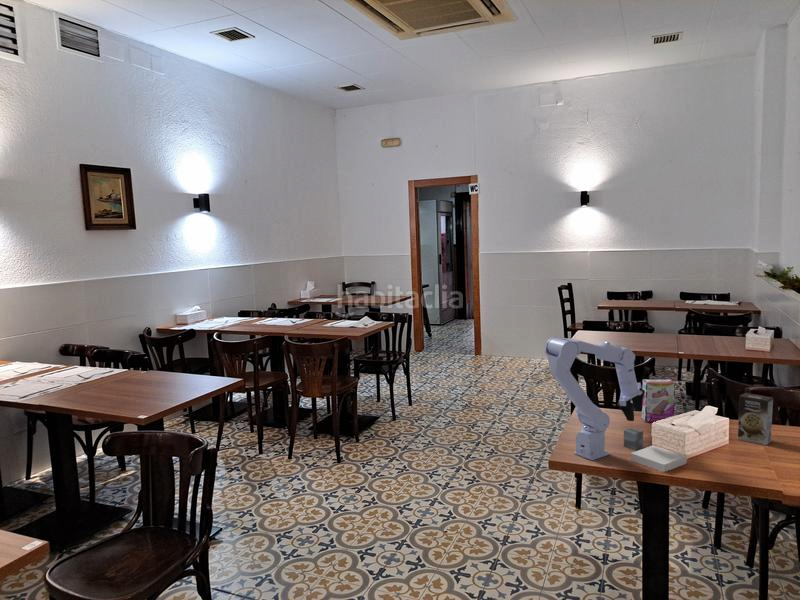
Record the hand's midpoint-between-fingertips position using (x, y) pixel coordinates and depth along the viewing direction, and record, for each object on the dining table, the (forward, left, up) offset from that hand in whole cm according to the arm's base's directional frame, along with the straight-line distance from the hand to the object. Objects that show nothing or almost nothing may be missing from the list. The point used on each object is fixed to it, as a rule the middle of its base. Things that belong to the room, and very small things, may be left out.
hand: (635, 415), depth 198 cm
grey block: (-1, 0, -11) cm, 11 cm away
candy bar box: (+31, +12, -11) cm, 35 cm away
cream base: (-6, -13, -11) cm, 18 cm away
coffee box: (+38, -21, -11) cm, 45 cm away
